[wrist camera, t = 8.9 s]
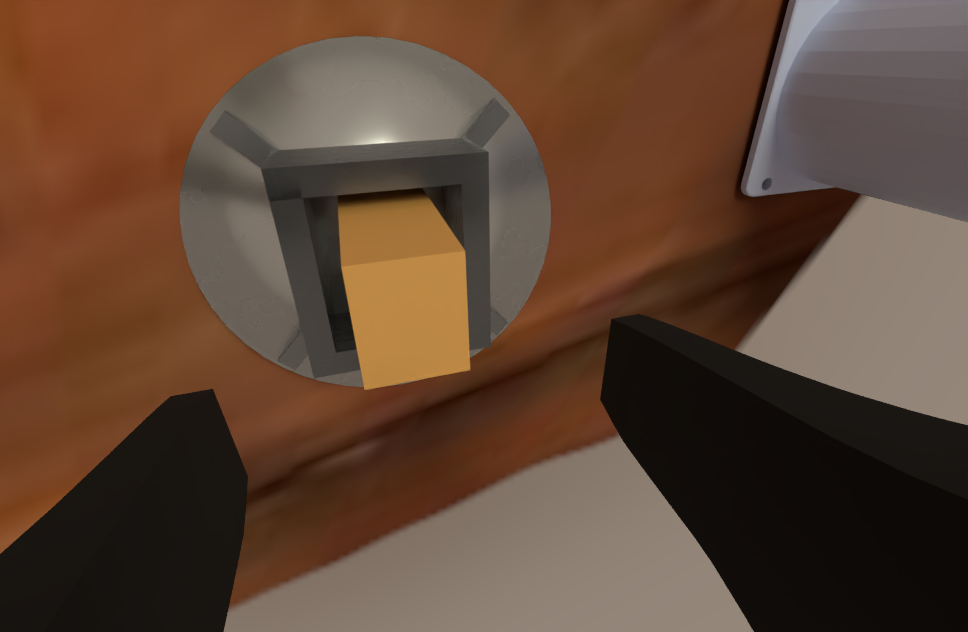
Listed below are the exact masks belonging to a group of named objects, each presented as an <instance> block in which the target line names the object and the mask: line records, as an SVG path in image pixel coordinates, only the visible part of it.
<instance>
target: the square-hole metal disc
mask: <svg viewBox="0 0 968 632" xmlns="http://www.w3.org/2000/svg"><path fill="white" fill-rule="evenodd" d="M412 188H423V190H424V191H425V193H426V194H427V196H428V197H429V199H430V200H431V201H432V203H433V204H434V206H435V207H436V209H437V210H438V212H439V213H440V215H441V216H442V218H443V219H444V221H445V222H446V223H447V225H448V226H449V228H450V229H451V231H452V232H453V234H454V235H455V237H456V238H457V240H458V241H459V242H460V244H461V245H462V247H463V248H464V250H465V257H466V281H467V305H468V329H469V353H470V358H471V357H472V356H474V355H476V354H477V353H478V352H480V351H481V350H482V349H483V348H487V347H491V342H492V341H493V340H494V339H495V338H497V337H498V336H499V335H500V334H501V333H502V332H503V331H504V330H505V329H506V328H507V326H508V325H509V324H510V323H511V322H512V320H513V319H514V318H515V317H516V316H517V314H518V313H519V311H520V310H521V308H522V307H523V305H524V304H525V302H526V301H527V299H528V298H529V296H530V294H531V292H532V290H533V288H534V286H535V284H536V282H537V280H538V277H539V274H540V272H541V269H542V266H543V263H544V259H545V255H546V251H547V247H548V242H549V233H550V225H551V207H550V196H549V189H548V182H547V178H546V174H545V170H544V167H543V163H542V160H541V157H540V155H539V152H538V150H537V148H536V145H535V143H534V140H533V138H532V137H531V135H530V133H529V132H528V130H527V128H526V126H525V125H524V123H523V121H522V120H521V118H520V117H519V116H518V114H517V113H516V112H515V110H514V109H513V108H512V107H511V105H510V104H509V103H508V101H507V100H506V99H505V98H504V97H503V96H502V95H501V94H500V93H499V92H498V91H497V90H496V89H495V88H494V87H493V86H492V85H491V84H490V83H489V82H487V81H486V80H485V79H483V78H482V77H481V76H479V75H478V74H476V73H475V72H474V71H472V70H471V69H470V68H468V67H467V66H465V65H463V64H461V63H460V62H458V61H456V60H454V59H452V58H450V57H448V56H447V55H445V54H443V53H440V52H438V51H435V50H432V49H429V48H427V47H424V46H421V45H419V44H415V43H411V42H406V41H401V40H396V39H392V38H383V37H367V36H354V37H342V38H331V39H326V40H322V41H318V42H314V43H310V44H306V45H302V46H299V47H297V48H294V49H292V50H290V51H287V52H285V53H282V54H280V55H278V56H275V57H273V58H272V59H270V60H268V61H267V62H265V63H264V64H262V65H260V66H259V67H257V68H256V69H254V70H252V71H251V72H249V73H248V74H247V75H246V76H244V77H243V78H242V79H241V80H240V81H239V82H238V83H237V84H235V85H234V86H233V87H232V88H231V89H230V90H229V91H227V92H226V94H225V95H224V96H223V97H222V99H221V100H220V101H219V102H218V103H217V105H216V106H215V107H214V108H213V110H212V111H211V112H210V113H209V115H208V116H207V118H206V120H205V122H204V123H203V125H202V127H201V129H200V130H199V132H198V134H197V136H196V137H195V140H194V142H193V145H192V148H191V150H190V153H189V156H188V158H187V161H186V164H185V169H184V174H183V179H182V185H181V190H180V224H181V231H182V239H183V244H184V248H185V251H186V255H187V258H188V262H189V265H190V268H191V270H192V272H193V275H194V277H195V279H196V281H197V284H198V286H199V288H200V290H201V291H202V293H203V295H204V296H205V298H206V299H207V301H208V303H209V304H210V306H211V307H212V309H213V310H214V311H215V313H216V314H217V315H218V316H219V317H220V319H221V320H222V321H223V322H224V323H225V325H226V326H227V327H228V328H229V329H230V330H231V331H232V332H233V333H234V334H235V335H237V336H238V337H239V338H240V339H241V340H242V341H243V342H244V343H245V344H247V345H248V346H249V347H251V348H252V349H254V350H255V351H256V352H258V353H259V354H260V355H262V356H263V357H265V358H267V359H269V360H270V361H272V362H274V363H276V364H278V365H279V366H281V367H283V368H285V369H288V370H290V371H293V372H295V373H297V374H300V375H302V376H305V377H309V378H312V379H315V380H319V381H322V382H327V383H333V384H338V385H344V386H357V387H364V384H363V379H362V373H361V368H360V363H359V358H358V352H357V347H356V342H355V337H354V331H353V326H352V321H351V316H350V310H349V305H348V300H347V294H346V289H345V284H344V279H343V273H342V268H341V254H340V236H339V218H338V201H337V195H346V194H357V193H368V192H379V191H390V190H401V189H412ZM420 380H422V379H420ZM415 381H418V380H415ZM410 382H414V381H410ZM410 382H405V383H410ZM405 383H399V384H405ZM399 384H394V385H399ZM389 386H391V385H389Z"/></svg>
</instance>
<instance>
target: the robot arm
mask: <svg viewBox="0 0 968 632" xmlns="http://www.w3.org/2000/svg"><path fill="white" fill-rule="evenodd" d="M764 180H765V182H764V184H763V185H762V183H763V181H764ZM834 187H837V188H841V189H845V190H848V191H852V192H856V193H860V194H863V195H867V196H871V197H875V198H878V199H882V200H886V201H890V202H893V203H897V204H901V205H904V206H908V207H912V208H916V209H919V210H923V211H927V212H931V213H934V214H939V215H942V216H946V217H949V218H953V219H957V220H961V221H965V222H968V0H789V3H788V7H787V10H786V14H785V18H784V22H783V26H782V30H781V33H780V37H779V41H778V45H777V49H776V53H775V56H774V60H773V64H772V68H771V72H770V76H769V79H768V83H767V87H766V91H765V95H764V99H763V102H762V106H761V110H760V114H759V118H758V122H757V126H756V129H755V133H754V137H753V141H752V145H751V149H750V152H749V156H748V160H747V164H746V168H745V172H744V175H743V179H742V183H741V191H742V193H743V194H744V195H747V196H751V197H755V196H764V195H773V194H781V193H790V192H799V191H808V190H816V189H825V188H834ZM600 400H601V402H602V404H603V405H604V407H605V409H606V411H607V413H608V415H609V417H610V419H611V421H612V423H613V424H614V426H615V428H616V429H617V431H618V433H619V435H620V436H621V438H622V440H623V441H624V443H625V444H626V446H627V447H628V449H629V450H630V451H631V453H632V454H633V455H634V457H635V458H636V460H637V461H638V462H639V464H640V465H641V466H642V468H643V469H644V470H645V472H646V473H647V475H648V476H649V477H650V479H651V480H652V481H653V483H654V484H655V485H656V487H657V488H658V489H659V491H660V492H661V493H662V495H663V496H664V497H665V499H666V500H667V501H668V503H669V504H670V505H671V506H672V508H673V509H674V511H675V512H676V513H677V515H678V516H679V517H680V519H681V520H682V521H683V523H684V524H685V525H686V527H687V528H688V529H689V531H690V532H691V533H692V535H693V536H694V537H695V539H696V540H697V541H698V543H699V544H700V546H701V547H702V549H703V550H704V552H705V553H706V555H707V556H708V557H709V559H710V560H711V562H712V563H713V565H714V566H715V568H716V570H717V572H718V573H719V575H720V576H721V578H722V579H723V581H724V583H725V585H726V586H727V588H728V589H729V591H730V593H731V594H732V596H733V598H734V599H735V601H736V603H737V604H738V606H739V607H740V609H741V611H742V612H743V614H744V616H745V617H746V619H747V621H748V622H749V624H750V626H751V628H752V629H753V631H754V632H968V425H964V424H960V423H956V422H952V421H947V420H944V419H940V418H936V417H933V416H929V415H925V414H921V413H918V412H914V411H910V410H907V409H904V408H900V407H897V406H894V405H890V404H887V403H883V402H880V401H876V400H873V399H870V398H866V397H863V396H860V395H857V394H853V393H850V392H847V391H844V390H841V389H838V388H835V387H832V386H829V385H826V384H823V383H821V382H818V381H815V380H812V379H809V378H806V377H803V376H801V375H798V374H795V373H792V372H790V371H787V370H783V369H781V368H779V367H776V366H773V365H771V364H768V363H765V362H762V361H760V360H758V359H755V358H752V357H750V356H747V355H745V354H742V353H740V352H737V351H735V350H732V349H730V348H727V347H725V346H722V345H720V344H717V343H715V342H713V341H710V340H708V339H705V338H703V337H700V336H698V335H695V334H693V333H690V332H688V331H685V330H683V329H680V328H678V327H675V326H672V325H670V324H667V323H664V322H662V321H659V320H656V319H653V318H650V317H647V316H643V315H640V314H637V315H631V316H625V317H620V318H614V319H611V326H610V333H609V340H608V348H607V355H606V362H605V369H604V376H603V383H602V390H601V398H600ZM247 482H248V476H247V473H246V471H245V468H244V466H243V463H242V461H241V458H240V456H239V453H238V451H237V448H236V446H235V443H234V441H233V438H232V436H231V433H230V431H229V428H228V426H227V423H226V421H225V418H224V416H223V413H222V411H221V408H220V406H219V403H218V401H217V398H216V396H215V393H214V391H213V389H210V390H204V391H198V392H193V393H187V394H181V395H175V396H171V397H170V398H168V399H167V400H166V401H165V402H164V403H163V404H161V405H160V406H159V407H158V408H157V409H156V410H155V411H154V412H153V413H151V414H150V415H149V416H148V417H147V418H146V419H145V420H144V421H143V422H142V423H141V424H140V425H139V426H138V427H137V428H136V429H135V430H134V431H133V432H132V433H131V434H129V435H128V436H127V437H126V438H125V439H124V440H123V441H122V442H121V443H120V444H119V445H118V446H117V447H116V448H115V449H114V450H113V451H112V452H111V453H110V454H109V455H108V456H107V457H106V458H105V459H103V460H102V461H101V462H100V463H99V464H98V465H97V466H96V467H95V468H94V469H93V470H92V471H91V472H90V473H89V474H88V475H87V476H86V477H85V478H83V479H82V480H81V481H80V482H79V483H78V484H77V485H76V486H75V487H74V488H73V489H72V490H71V491H70V492H69V493H68V494H67V495H66V496H64V497H63V498H62V499H61V500H60V501H59V502H58V503H57V504H56V505H55V506H54V507H53V508H52V509H51V510H49V511H48V512H47V513H46V514H45V515H44V516H43V517H42V518H40V519H39V520H38V521H37V522H36V523H35V524H34V525H33V526H31V527H30V528H29V529H28V530H27V531H26V532H25V533H23V534H22V535H21V536H20V537H19V538H18V539H17V540H16V541H14V542H13V543H12V544H11V545H10V546H9V547H8V548H7V549H5V550H4V551H3V552H2V553H1V554H0V632H223V631H224V626H225V621H226V617H227V612H228V608H229V603H230V598H231V594H232V589H233V584H234V579H235V575H236V570H237V565H238V560H239V555H240V550H241V545H242V540H243V534H244V523H245V512H246V498H247Z"/></svg>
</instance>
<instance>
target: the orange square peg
mask: <svg viewBox="0 0 968 632" xmlns="http://www.w3.org/2000/svg"><path fill="white" fill-rule="evenodd" d="M337 201H338V218H339V236H340V254H341V268H342V273H343V279H344V284H345V289H346V294H347V300H348V305H349V310H350V316H351V321H352V326H353V331H354V337H355V342H356V347H357V352H358V358H359V363H360V368H361V373H362V379H363V384H364V389H365V390H368V389H373V388H378V387H383V386H389V385H394V384H399V383H405V382H410V381H415V380H420V379H426V378H431V377H436V376H441V375H447V374H452V373H457V372H462V371H468V370H470V353H469V329H468V305H467V281H466V257H465V250H464V248H463V247H462V245H461V244H460V242H459V241H458V240H457V238H456V237H455V235H454V234H453V232H452V231H451V229H450V228H449V226H448V225H447V223H446V222H445V221H444V219H443V218H442V216H441V215H440V213H439V212H438V210H437V209H436V207H435V206H434V204H433V203H432V201H431V200H430V199H429V197H428V196H427V194H426V193H425V191H424V190H423V188H412V189H401V190H390V191H379V192H368V193H357V194H346V195H337Z"/></svg>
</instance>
